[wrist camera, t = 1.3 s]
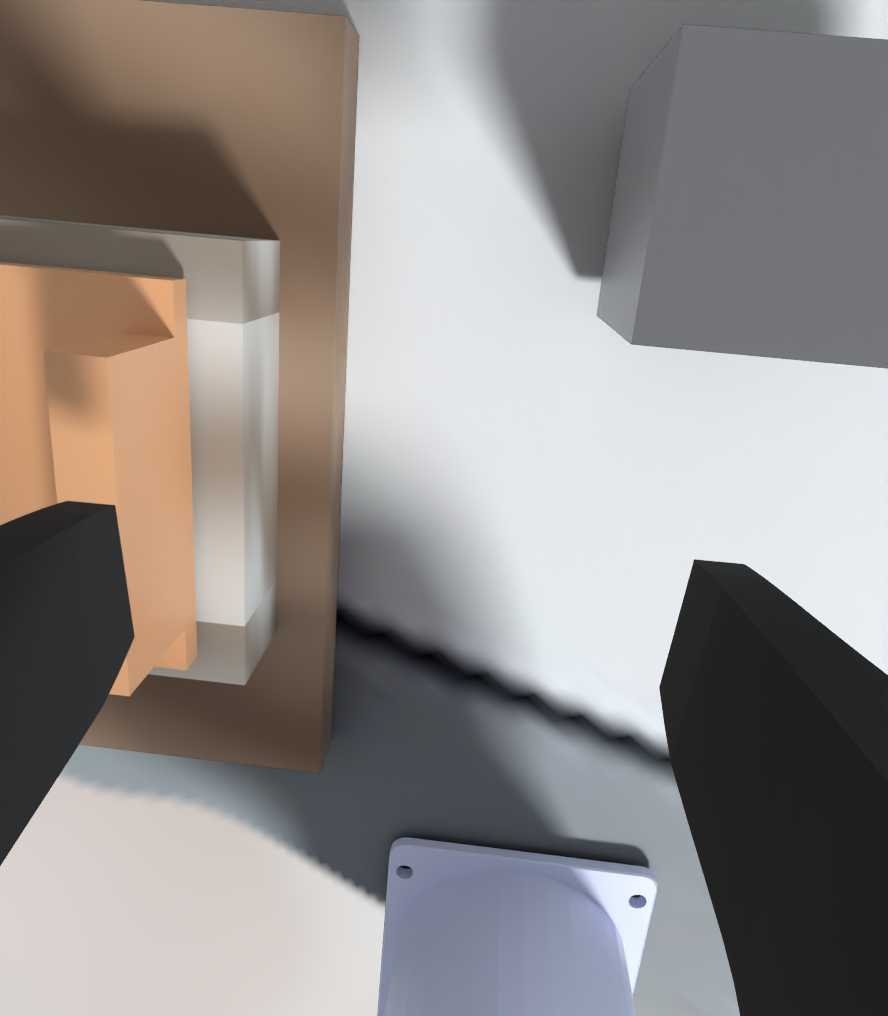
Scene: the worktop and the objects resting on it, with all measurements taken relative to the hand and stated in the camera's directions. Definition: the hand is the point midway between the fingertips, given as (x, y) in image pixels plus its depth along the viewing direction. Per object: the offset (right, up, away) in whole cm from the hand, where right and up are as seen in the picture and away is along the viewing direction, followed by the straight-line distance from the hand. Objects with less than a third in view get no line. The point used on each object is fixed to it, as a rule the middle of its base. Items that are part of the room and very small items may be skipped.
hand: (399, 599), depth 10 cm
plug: (+8, +8, +7) cm, 13 cm away
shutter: (-8, +2, +6) cm, 10 cm away
